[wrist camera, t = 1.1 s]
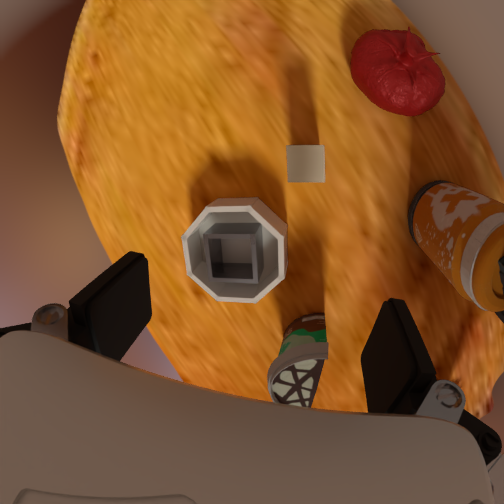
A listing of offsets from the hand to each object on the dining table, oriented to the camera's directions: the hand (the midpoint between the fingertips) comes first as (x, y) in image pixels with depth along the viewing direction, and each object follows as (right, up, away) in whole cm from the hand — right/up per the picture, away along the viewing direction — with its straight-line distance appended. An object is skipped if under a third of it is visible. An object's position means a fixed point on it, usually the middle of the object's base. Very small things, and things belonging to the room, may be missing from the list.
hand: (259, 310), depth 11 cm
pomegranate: (+15, +22, +14) cm, 30 cm away
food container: (+6, -10, +28) cm, 31 cm away
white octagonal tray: (-2, +3, +24) cm, 25 cm away
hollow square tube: (-2, +3, +24) cm, 25 cm away
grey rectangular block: (+6, +12, +19) cm, 24 cm away
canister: (+23, +6, +19) cm, 30 cm away
